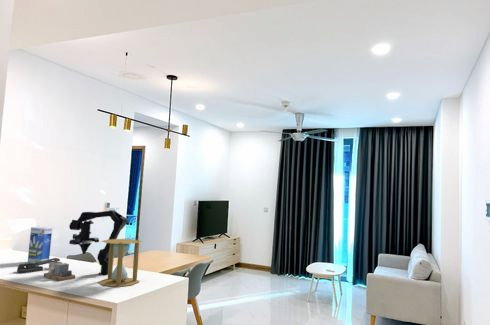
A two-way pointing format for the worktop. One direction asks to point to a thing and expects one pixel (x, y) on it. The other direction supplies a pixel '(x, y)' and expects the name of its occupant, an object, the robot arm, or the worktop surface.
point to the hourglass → (120, 273)
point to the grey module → (61, 268)
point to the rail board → (64, 276)
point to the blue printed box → (39, 244)
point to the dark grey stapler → (33, 266)
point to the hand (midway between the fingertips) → (83, 254)
